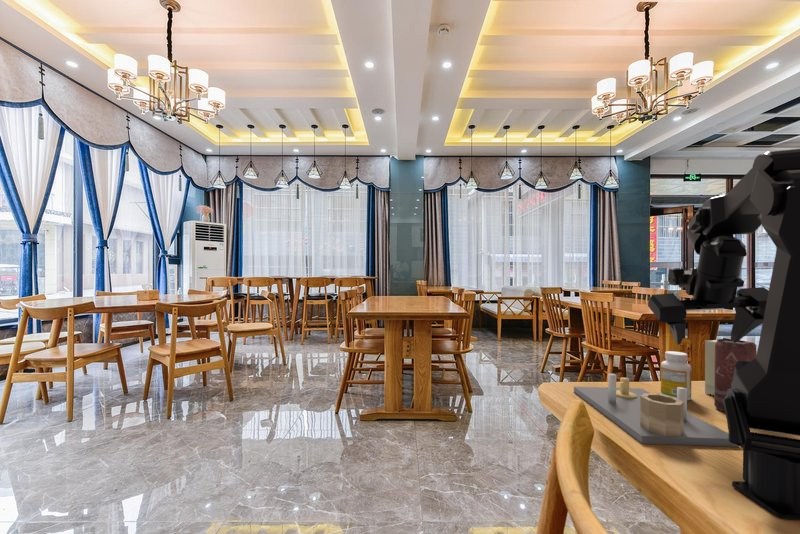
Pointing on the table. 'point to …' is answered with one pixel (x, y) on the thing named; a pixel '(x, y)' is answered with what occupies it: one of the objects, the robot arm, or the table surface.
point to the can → (729, 365)
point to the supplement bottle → (675, 374)
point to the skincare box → (710, 366)
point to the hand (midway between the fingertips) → (704, 342)
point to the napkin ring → (661, 414)
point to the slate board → (626, 414)
